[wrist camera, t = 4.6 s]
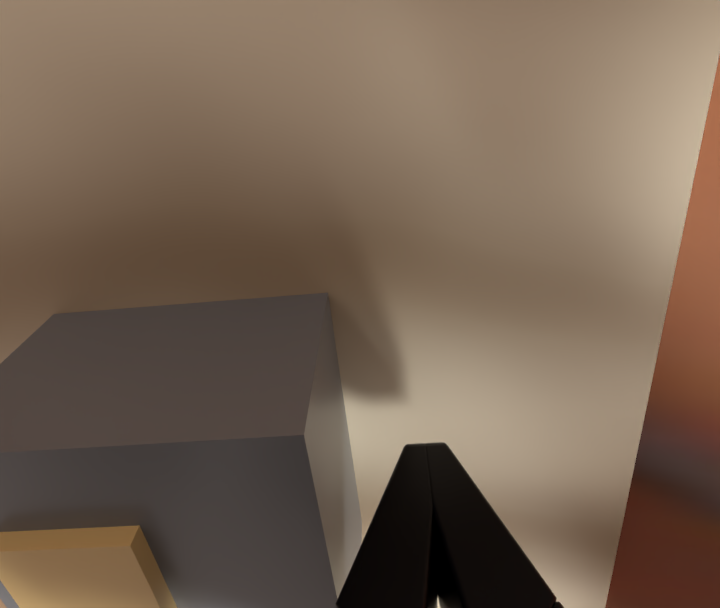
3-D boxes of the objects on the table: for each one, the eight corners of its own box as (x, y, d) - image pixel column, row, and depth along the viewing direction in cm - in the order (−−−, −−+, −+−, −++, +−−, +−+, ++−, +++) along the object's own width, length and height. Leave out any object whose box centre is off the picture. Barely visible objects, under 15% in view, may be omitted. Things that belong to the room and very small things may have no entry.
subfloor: (583, 593, 15) (599, 637, 14) (-63, 617, 16) (-93, 658, 15) (848, -985, 4) (999, -1306, 3) (-1041, -508, 6) (-1353, -622, 5)
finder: (362, 522, 12) (356, 718, 9) (151, 532, 12) (69, 724, 9) (327, 292, 9) (300, 454, 6) (53, 313, 9) (-123, 478, 6)
